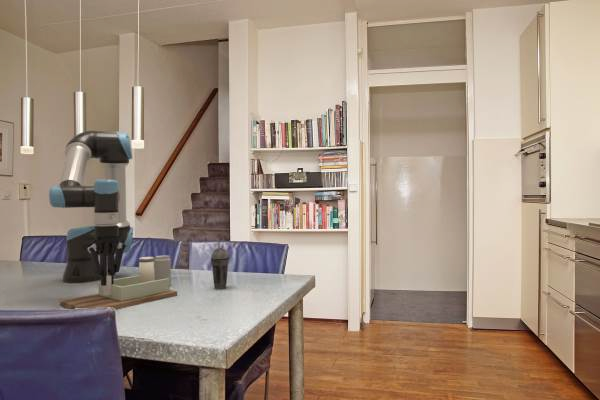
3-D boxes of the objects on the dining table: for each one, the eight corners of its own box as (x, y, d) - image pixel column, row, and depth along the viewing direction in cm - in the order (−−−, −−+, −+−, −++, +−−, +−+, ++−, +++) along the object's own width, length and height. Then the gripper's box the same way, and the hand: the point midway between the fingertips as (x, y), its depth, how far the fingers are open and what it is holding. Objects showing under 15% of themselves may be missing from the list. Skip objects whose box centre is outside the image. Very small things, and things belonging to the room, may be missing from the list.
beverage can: (166, 287, 169) (165, 257, 169) (151, 287, 170) (150, 257, 170) (173, 284, 175) (173, 255, 175) (159, 283, 176) (159, 254, 176)
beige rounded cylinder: (136, 290, 156) (136, 258, 156) (148, 288, 160) (148, 256, 160) (144, 292, 153) (144, 259, 153) (156, 290, 157) (156, 257, 157)
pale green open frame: (98, 294, 150) (98, 282, 150) (145, 285, 165) (145, 274, 165) (121, 301, 141) (121, 287, 141) (169, 290, 156) (169, 278, 156)
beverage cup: (233, 286, 170) (232, 236, 170) (223, 290, 163) (223, 238, 163) (216, 285, 172) (216, 235, 172) (207, 289, 166) (206, 237, 165)
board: (59, 305, 142) (59, 296, 142) (145, 288, 168) (145, 280, 168) (89, 315, 130) (89, 305, 130) (177, 295, 155) (177, 287, 155)
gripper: (93, 226, 137) (93, 300, 137) (130, 224, 148) (131, 292, 148) (81, 225, 142) (82, 296, 142) (118, 223, 152) (119, 289, 152)
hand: (107, 294), depth 145 cm, fingers closed
